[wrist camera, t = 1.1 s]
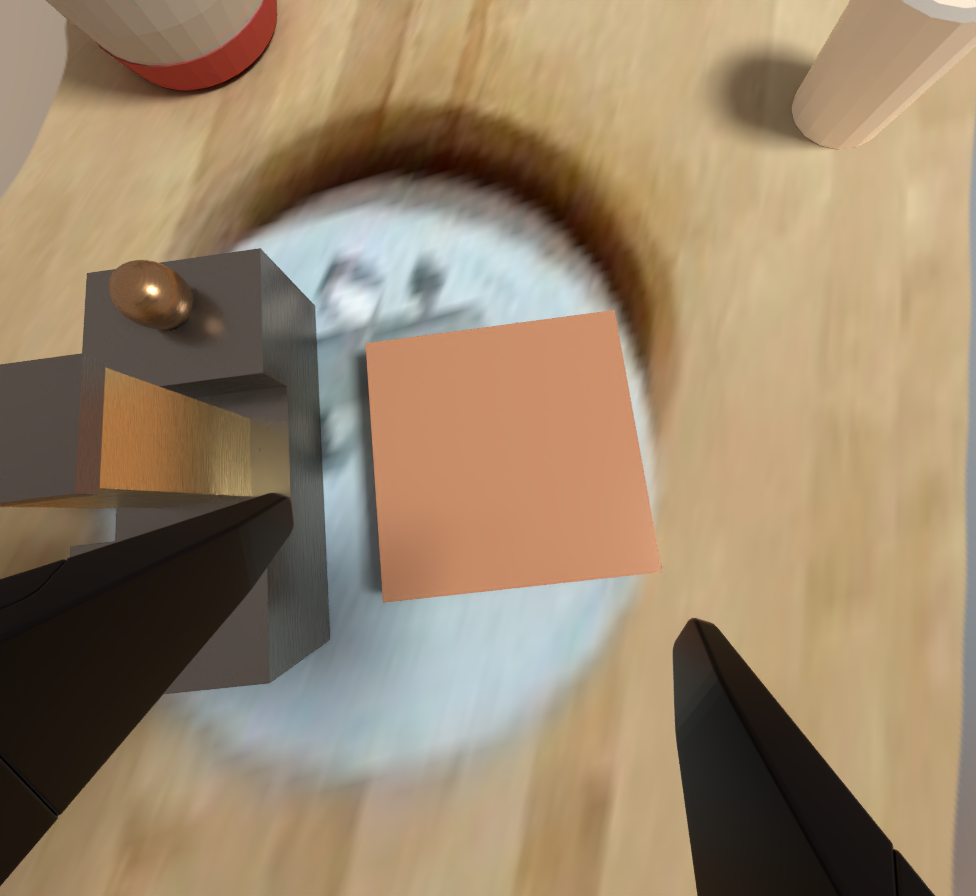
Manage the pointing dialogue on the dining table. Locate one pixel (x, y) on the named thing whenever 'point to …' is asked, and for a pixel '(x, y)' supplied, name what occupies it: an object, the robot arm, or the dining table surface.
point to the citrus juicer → (177, 36)
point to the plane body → (244, 391)
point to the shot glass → (880, 66)
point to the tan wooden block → (112, 440)
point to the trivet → (507, 459)
